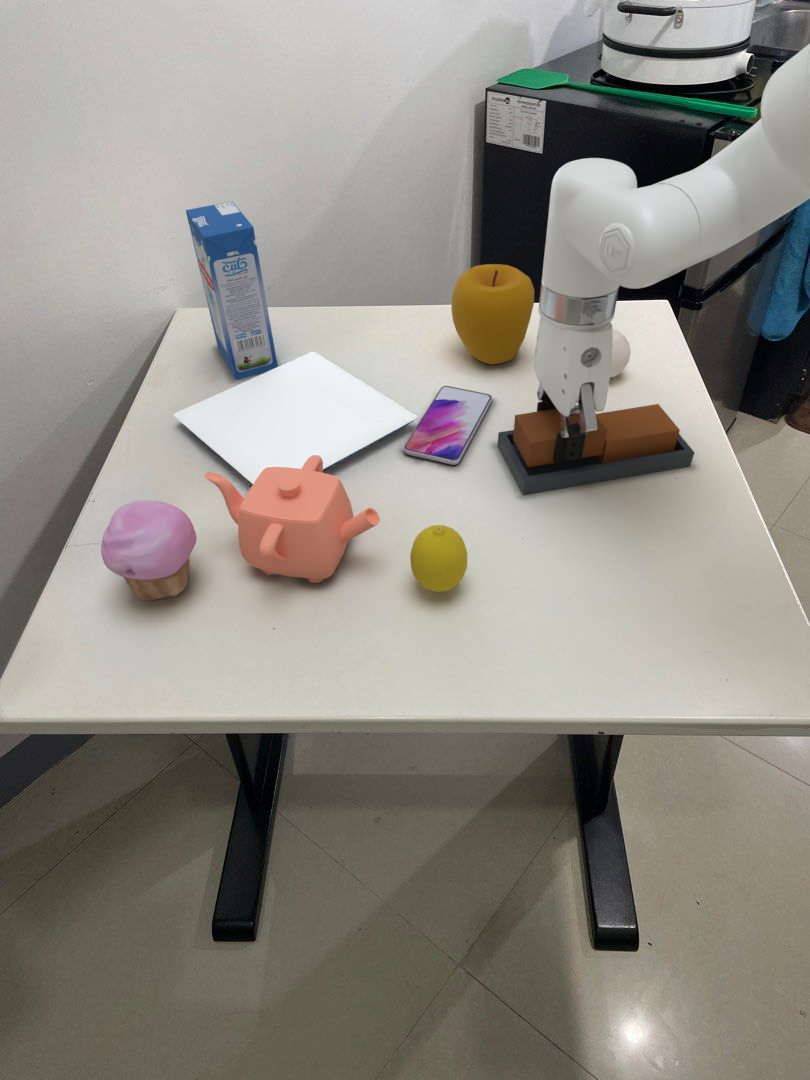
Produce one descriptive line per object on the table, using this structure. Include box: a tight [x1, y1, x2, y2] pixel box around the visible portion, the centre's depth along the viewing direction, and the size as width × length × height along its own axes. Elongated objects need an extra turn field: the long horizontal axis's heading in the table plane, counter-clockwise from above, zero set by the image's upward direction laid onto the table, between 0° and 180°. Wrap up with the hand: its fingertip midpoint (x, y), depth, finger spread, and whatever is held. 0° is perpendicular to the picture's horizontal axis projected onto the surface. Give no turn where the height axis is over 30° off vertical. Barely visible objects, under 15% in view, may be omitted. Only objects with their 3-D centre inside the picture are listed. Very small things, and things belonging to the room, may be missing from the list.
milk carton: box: [185, 201, 279, 381], centre depth 100 cm, size 10×6×20 cm, turn 25°
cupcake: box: [100, 499, 197, 602], centre depth 72 cm, size 9×9×10 cm
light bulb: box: [610, 328, 632, 378], centre depth 100 cm, size 7×7×11 cm
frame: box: [497, 429, 695, 496], centre depth 87 cm, size 10×21×2 cm, turn 102°
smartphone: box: [402, 385, 493, 466], centre depth 93 cm, size 7×1×15 cm
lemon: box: [409, 524, 468, 593], centre depth 71 cm, size 6×6×8 cm
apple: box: [451, 263, 535, 365], centre depth 100 cm, size 11×11×13 cm
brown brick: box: [513, 404, 607, 467], centre depth 85 cm, size 6×9×4 cm, turn 102°
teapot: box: [203, 455, 381, 584], centre depth 74 cm, size 14×12×10 cm
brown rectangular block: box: [596, 403, 681, 464], centre depth 87 cm, size 6×9×4 cm, turn 102°
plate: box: [173, 351, 418, 485], centre depth 93 cm, size 22×22×2 cm
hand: (557, 443), depth 86 cm, fingers closed on brown brick, 5 cm apart
